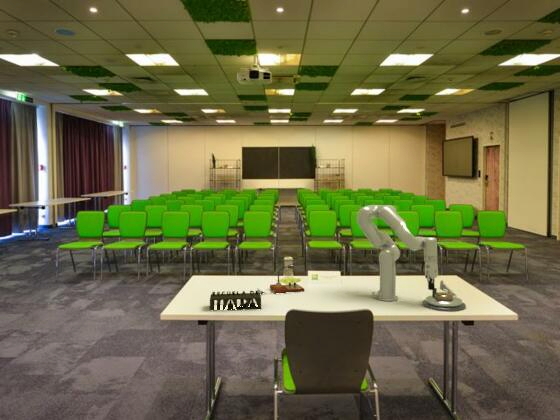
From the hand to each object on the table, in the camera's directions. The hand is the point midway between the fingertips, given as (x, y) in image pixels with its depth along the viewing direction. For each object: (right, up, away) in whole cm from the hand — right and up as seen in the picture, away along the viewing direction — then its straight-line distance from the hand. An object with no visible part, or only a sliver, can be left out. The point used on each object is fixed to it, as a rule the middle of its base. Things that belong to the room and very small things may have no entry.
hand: (431, 289), depth 283 cm
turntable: (+7, -7, -2) cm, 10 cm away
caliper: (+20, -7, +29) cm, 35 cm away
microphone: (-89, -8, +35) cm, 96 cm away
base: (+7, -9, -2) cm, 11 cm away
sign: (-114, -11, -3) cm, 115 cm away
